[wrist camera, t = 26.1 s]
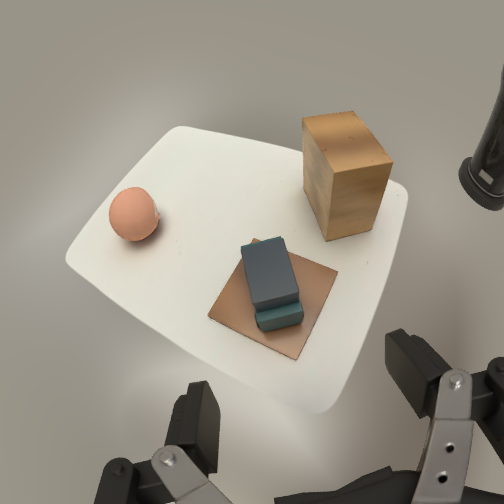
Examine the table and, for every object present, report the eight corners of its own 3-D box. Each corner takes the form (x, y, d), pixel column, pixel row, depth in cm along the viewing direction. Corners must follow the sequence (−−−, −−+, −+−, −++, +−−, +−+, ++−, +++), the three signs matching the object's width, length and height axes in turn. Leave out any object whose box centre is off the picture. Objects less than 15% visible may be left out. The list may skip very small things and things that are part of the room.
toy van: (305, 323, 32) (308, 300, 25) (259, 335, 32) (249, 315, 25) (286, 257, 36) (282, 220, 29) (244, 267, 36) (232, 233, 30)
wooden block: (303, 187, 42) (301, 117, 31) (345, 178, 42) (353, 110, 31) (325, 241, 37) (334, 172, 26) (371, 230, 37) (393, 161, 26)
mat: (254, 240, 39) (253, 237, 38) (337, 273, 35) (338, 271, 34) (208, 316, 35) (207, 315, 34) (296, 360, 30) (296, 359, 30)
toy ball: (176, 214, 43) (156, 180, 37) (152, 256, 40) (126, 226, 33) (139, 205, 46) (118, 175, 39) (116, 243, 43) (90, 215, 36)
